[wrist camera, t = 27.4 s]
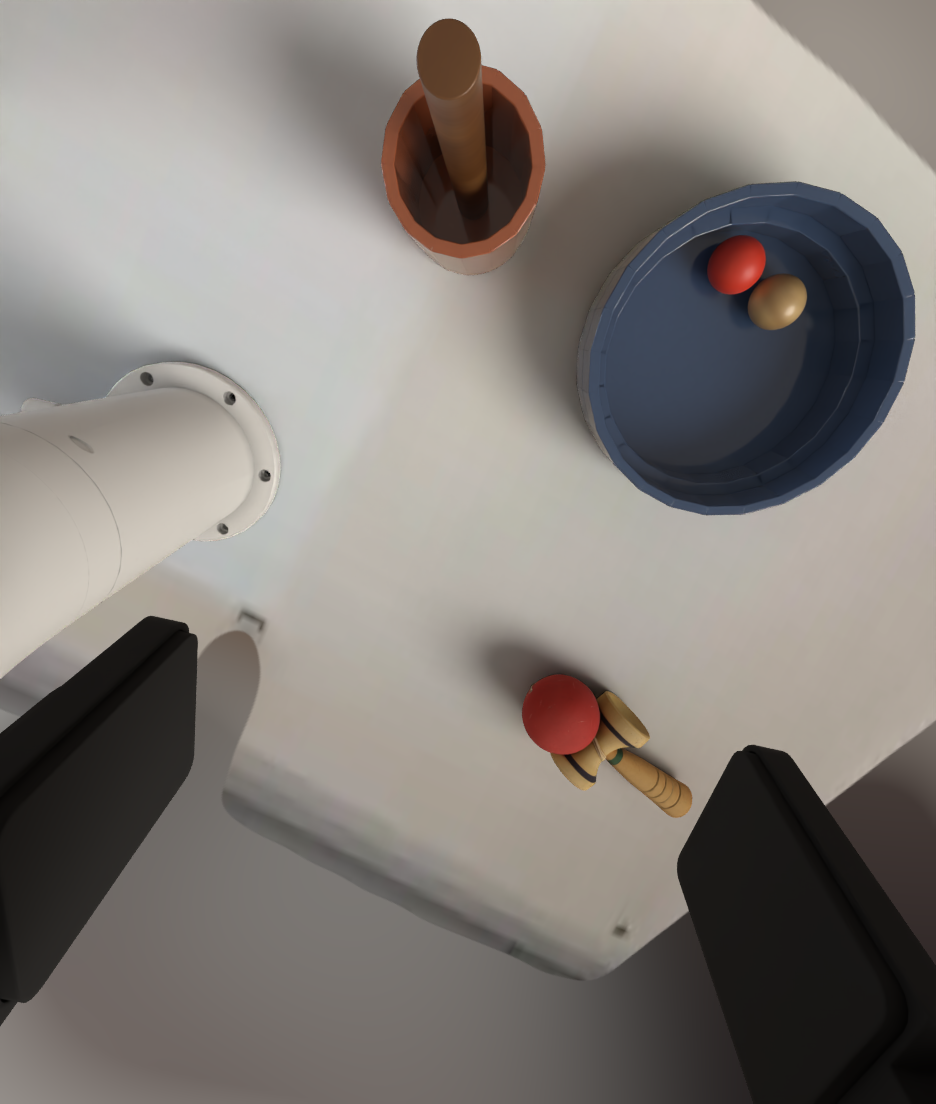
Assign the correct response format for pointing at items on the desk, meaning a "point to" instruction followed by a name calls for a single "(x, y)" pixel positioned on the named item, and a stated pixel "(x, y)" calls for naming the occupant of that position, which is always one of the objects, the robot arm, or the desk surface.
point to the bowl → (747, 352)
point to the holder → (428, 192)
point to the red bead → (736, 264)
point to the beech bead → (777, 301)
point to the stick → (457, 108)
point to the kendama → (596, 739)
